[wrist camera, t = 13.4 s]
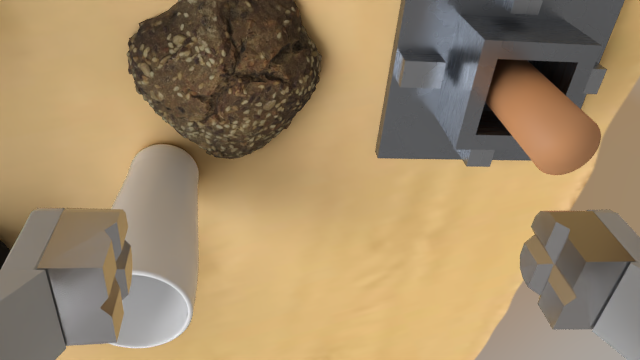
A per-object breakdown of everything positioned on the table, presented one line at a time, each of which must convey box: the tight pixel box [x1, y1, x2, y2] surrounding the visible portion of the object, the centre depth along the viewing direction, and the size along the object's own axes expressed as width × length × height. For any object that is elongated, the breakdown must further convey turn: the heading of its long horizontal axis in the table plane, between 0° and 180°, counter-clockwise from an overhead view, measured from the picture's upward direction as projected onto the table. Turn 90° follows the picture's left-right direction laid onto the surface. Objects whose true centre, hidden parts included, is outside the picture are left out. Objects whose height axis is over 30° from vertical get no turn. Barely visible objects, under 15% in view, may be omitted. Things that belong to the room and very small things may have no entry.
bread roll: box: [127, 0, 321, 159], centre depth 37 cm, size 13×12×5 cm
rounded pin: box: [485, 59, 601, 175], centre depth 36 cm, size 4×4×11 cm
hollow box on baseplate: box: [375, 0, 624, 167], centre depth 39 cm, size 16×16×6 cm
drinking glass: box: [109, 144, 199, 348], centre depth 37 cm, size 7×7×15 cm
